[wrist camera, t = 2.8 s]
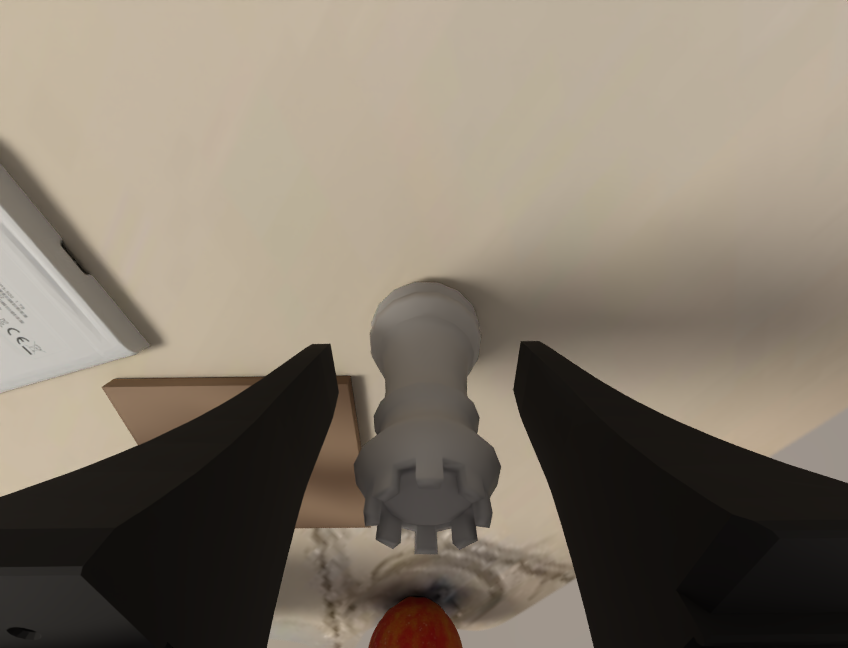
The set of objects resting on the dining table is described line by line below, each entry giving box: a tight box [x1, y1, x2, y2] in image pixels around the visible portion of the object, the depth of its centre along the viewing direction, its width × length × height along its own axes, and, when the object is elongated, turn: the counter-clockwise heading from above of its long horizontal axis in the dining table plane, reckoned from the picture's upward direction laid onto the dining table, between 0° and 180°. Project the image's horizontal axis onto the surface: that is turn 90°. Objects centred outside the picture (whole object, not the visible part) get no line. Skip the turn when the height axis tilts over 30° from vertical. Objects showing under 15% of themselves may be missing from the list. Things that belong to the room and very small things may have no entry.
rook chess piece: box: [354, 282, 501, 554], centre depth 10 cm, size 4×4×8 cm
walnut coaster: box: [102, 376, 371, 528], centre depth 17 cm, size 11×11×1 cm
